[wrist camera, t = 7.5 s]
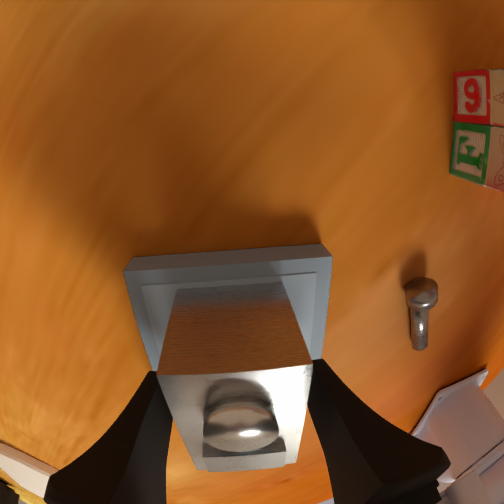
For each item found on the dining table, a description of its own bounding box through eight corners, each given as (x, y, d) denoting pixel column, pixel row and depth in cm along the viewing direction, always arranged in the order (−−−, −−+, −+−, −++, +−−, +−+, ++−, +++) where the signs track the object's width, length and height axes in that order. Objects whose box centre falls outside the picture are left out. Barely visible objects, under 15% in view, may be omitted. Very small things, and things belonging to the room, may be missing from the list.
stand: (309, 375, 17) (315, 393, 16) (168, 386, 16) (165, 404, 15) (321, 243, 14) (332, 256, 12) (132, 257, 13) (122, 271, 11)
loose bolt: (427, 332, 17) (441, 349, 15) (403, 345, 17) (417, 363, 15) (425, 273, 15) (444, 289, 13) (398, 287, 15) (416, 305, 13)
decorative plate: (-4, 476, 23) (-28, 439, 16) (1, 462, 27) (-18, 419, 20) (104, 527, 30) (130, 518, 23) (106, 513, 34) (133, 496, 27)
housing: (279, 388, 15) (298, 476, 10) (199, 394, 15) (197, 484, 9) (282, 281, 12) (320, 383, 7) (176, 289, 12) (151, 395, 7)
